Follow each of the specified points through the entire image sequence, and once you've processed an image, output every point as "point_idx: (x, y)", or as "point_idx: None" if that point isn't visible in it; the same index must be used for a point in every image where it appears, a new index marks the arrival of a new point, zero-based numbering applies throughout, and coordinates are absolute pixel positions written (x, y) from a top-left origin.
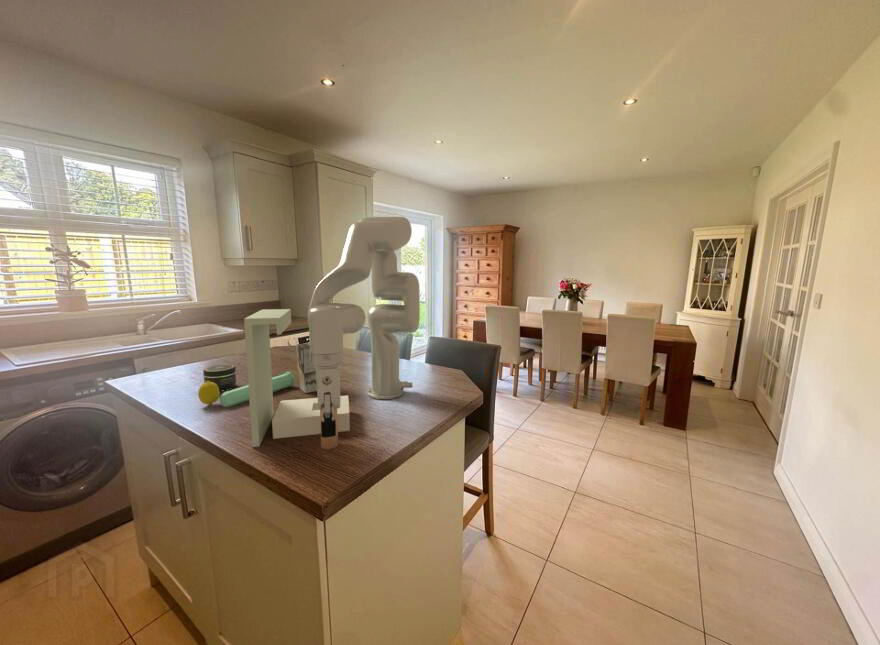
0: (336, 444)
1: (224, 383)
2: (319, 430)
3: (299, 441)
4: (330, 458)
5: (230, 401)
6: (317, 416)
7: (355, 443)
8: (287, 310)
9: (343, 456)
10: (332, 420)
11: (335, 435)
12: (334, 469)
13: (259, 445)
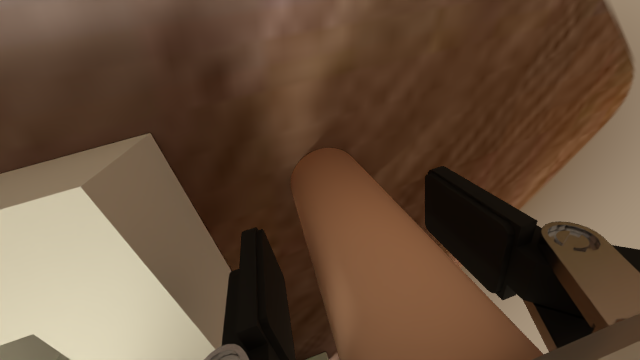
0: (344, 153)
1: None
2: (220, 268)
3: (293, 287)
4: (428, 143)
5: None
6: (214, 344)
7: (309, 60)
8: None
9: (425, 94)
10: (574, 236)
11: (442, 167)
12: (503, 105)
13: (323, 354)
